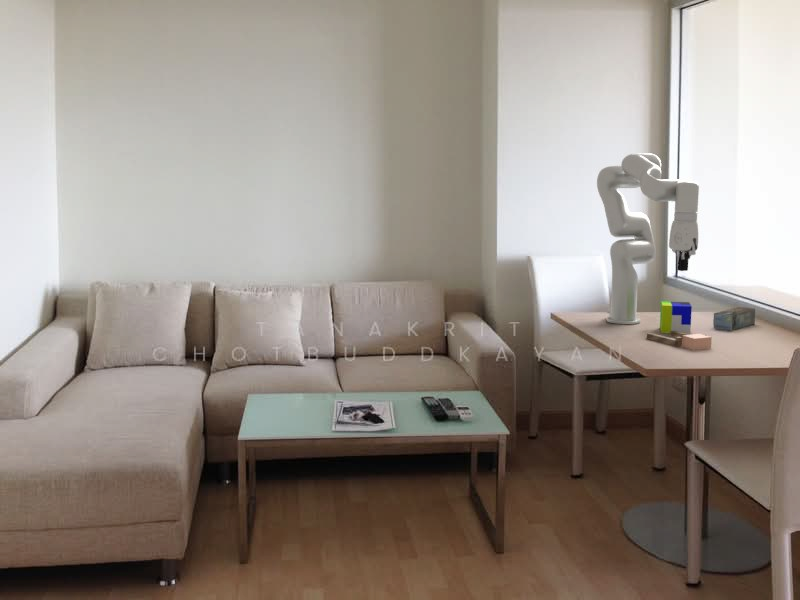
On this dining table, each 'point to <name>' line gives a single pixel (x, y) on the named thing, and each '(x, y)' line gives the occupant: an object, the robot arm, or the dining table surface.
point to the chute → (675, 342)
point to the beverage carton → (734, 318)
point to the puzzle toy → (675, 317)
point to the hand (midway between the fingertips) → (682, 270)
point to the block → (696, 341)
